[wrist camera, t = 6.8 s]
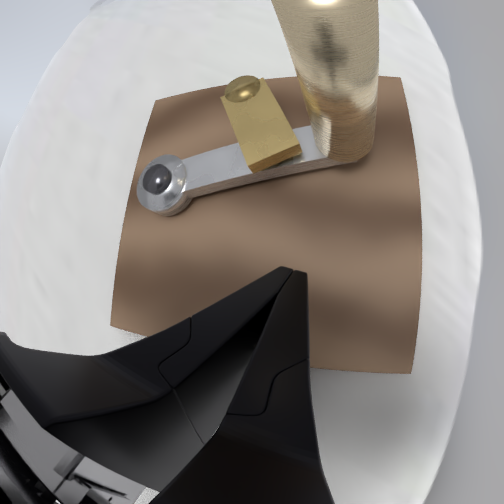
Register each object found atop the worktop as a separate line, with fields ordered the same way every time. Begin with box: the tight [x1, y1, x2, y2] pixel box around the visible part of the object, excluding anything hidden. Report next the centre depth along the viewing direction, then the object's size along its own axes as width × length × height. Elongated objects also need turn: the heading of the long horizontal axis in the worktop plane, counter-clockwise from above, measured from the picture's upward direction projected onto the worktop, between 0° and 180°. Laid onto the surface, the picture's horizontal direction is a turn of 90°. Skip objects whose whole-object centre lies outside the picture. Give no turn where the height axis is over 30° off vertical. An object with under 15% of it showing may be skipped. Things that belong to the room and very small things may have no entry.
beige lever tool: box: [137, 0, 379, 216], centre depth 13 cm, size 16×4×11 cm, turn 96°
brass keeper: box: [220, 76, 303, 174], centre depth 17 cm, size 7×3×3 cm, turn 19°
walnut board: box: [110, 76, 422, 374], centre depth 19 cm, size 20×21×1 cm
